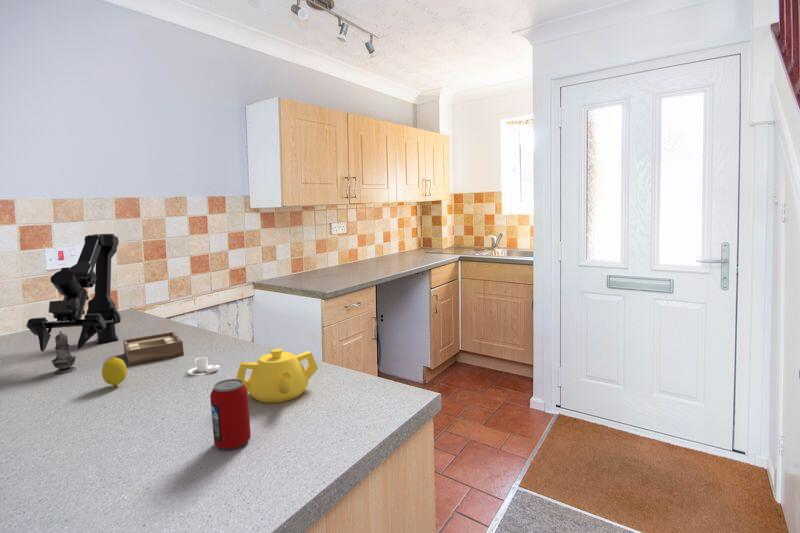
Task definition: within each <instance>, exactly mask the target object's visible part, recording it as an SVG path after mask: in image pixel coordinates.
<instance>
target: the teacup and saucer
mask: <svg viewBox="0 0 800 533" xmlns="http://www.w3.org/2000/svg"><path fill="white" fill-rule="evenodd" d="M208 358H209V357H208V356H205V355H203V356H198V357H196V358H194V361H193V362H194V364H195V366H196V367H192V368H191V369H189V370H188V371H187V374H188V375H190V376H203V375H208V374H211V373H212V374H213V373H214V372H217V371H218V370H219V369H220V368H221V366H220V365H219V364H214V365H212V364H208V360H209V359H208ZM195 370H197V372H200V373H194V371H195ZM201 372H202V373H201ZM203 372H204V373H203Z"/></svg>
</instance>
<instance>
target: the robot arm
mask: <svg viewBox="0 0 800 533" xmlns="http://www.w3.org/2000/svg"><path fill="white" fill-rule="evenodd" d="M119 244H120V242H119V237H117V236H115V234H114V233H94V234H88V235H85V237H84V244H83V247H82V249H81V252H80V254H79V257H78V260H77V262H76V263H75V264H74V265H72V266H71V267H61V269H60V270H59V271H57V272H54V274H53V275H51V277H50V283H51V284H52V285H53V286H54V288H55V289H56V290H57V292H58V293H59V295H61V296H63V299H62V300H52V301H51V300H50V301H49V305H48V313H50V314H52V316H53V319H56V320H53V321H52V320H50V321H48V319H47V318H46V317H44V316H43V317H32V318H29V319H28V320H27V323H26V325H25V326H26V328H28V329H29V330H30V332H31V333H32V334H33V335H34V336H37V337H38V343H39V349H40V352H45V350H46V349H47V346H48V343H49V341H50V338H51V336H52V335H51V334H50V333H51V332H52V330H53V329H59V328H75V327H76V328H77V327H81V331H80V335H79V337H78V338H79V339H78V341H77V345H76V346H77V349H81V348H83V346H84V345H85V344H86V343H87V342H88V341H89V340H90V339H91V338H92V337H94V336H95V334H96V336H97V337H96V338H95V341H96V344H102V343H103V344H104V343H108V342H114V341H119V337H118V335H117V331H116V325H117V324H120V323H121V322H122V321H121V320H122V318H121V317H122V316H121V314H120V312H119V311H118V309H117V307H116V303H115V302H114V300H113V299H112V298H111V286H112V285H111V280H112V258H113V257H114V255H115V254H117V251H118V246H119ZM94 270H95V271H94ZM93 287H94V296H93V297H92V298H91V299H90V296H89V293H88V291H87V289H90V288H93ZM86 301H87V310H84V309H85V305H86ZM85 312H86V314H85ZM83 315H84V319H83V318H82V316H83Z"/></svg>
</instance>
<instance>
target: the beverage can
mask: <svg viewBox="0 0 800 533" xmlns="http://www.w3.org/2000/svg"><path fill="white" fill-rule="evenodd" d="M248 393H249V392H248V391H247V388H246V386H245V385H244V384H243V381H242V380H240V379H236V378H230V379H229V378H228V379H224V380H223V379H222V380H221V381H218V382H217V383H215V384H213V388H212V390H211V392H210V395H209V397H210V410H211V412H210V413H211V422H212V423H211V424H212V433H213V442H214V445H215V446H216V447H217V448H220V449H222V450H234V449H238V448H240V447H242V446H243V445H245V444H246V443H248V441H249V440H250V439H251V436H252V434H251V420H250V405H249V404H250V403H249V394H248Z"/></svg>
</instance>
